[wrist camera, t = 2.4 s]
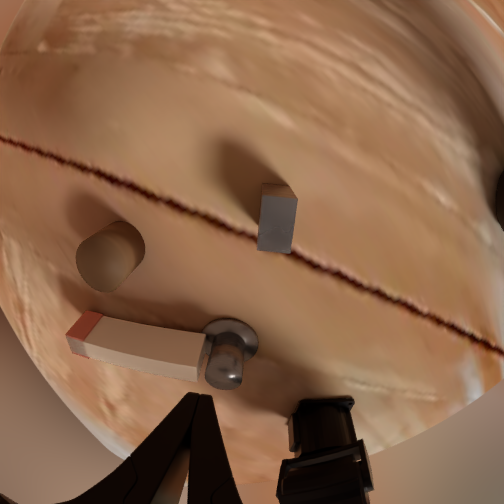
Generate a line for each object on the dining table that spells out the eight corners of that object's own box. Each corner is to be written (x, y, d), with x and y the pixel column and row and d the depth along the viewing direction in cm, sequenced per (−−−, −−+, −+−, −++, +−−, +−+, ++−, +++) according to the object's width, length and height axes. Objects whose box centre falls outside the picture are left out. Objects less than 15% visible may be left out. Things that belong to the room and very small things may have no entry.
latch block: (289, 186, 18) (297, 198, 14) (284, 228, 19) (290, 253, 15) (262, 183, 18) (262, 195, 14) (258, 226, 19) (257, 250, 15)
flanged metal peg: (261, 321, 22) (260, 359, 18) (255, 363, 24) (253, 400, 20) (200, 314, 22) (188, 351, 18) (201, 357, 24) (192, 393, 20)
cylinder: (143, 222, 19) (119, 241, 15) (146, 270, 21) (126, 296, 17) (100, 219, 19) (72, 236, 15) (105, 265, 21) (81, 287, 17)
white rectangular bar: (205, 332, 22) (196, 365, 18) (205, 350, 23) (197, 383, 19) (86, 310, 22) (65, 334, 18) (91, 328, 23) (72, 353, 19)
